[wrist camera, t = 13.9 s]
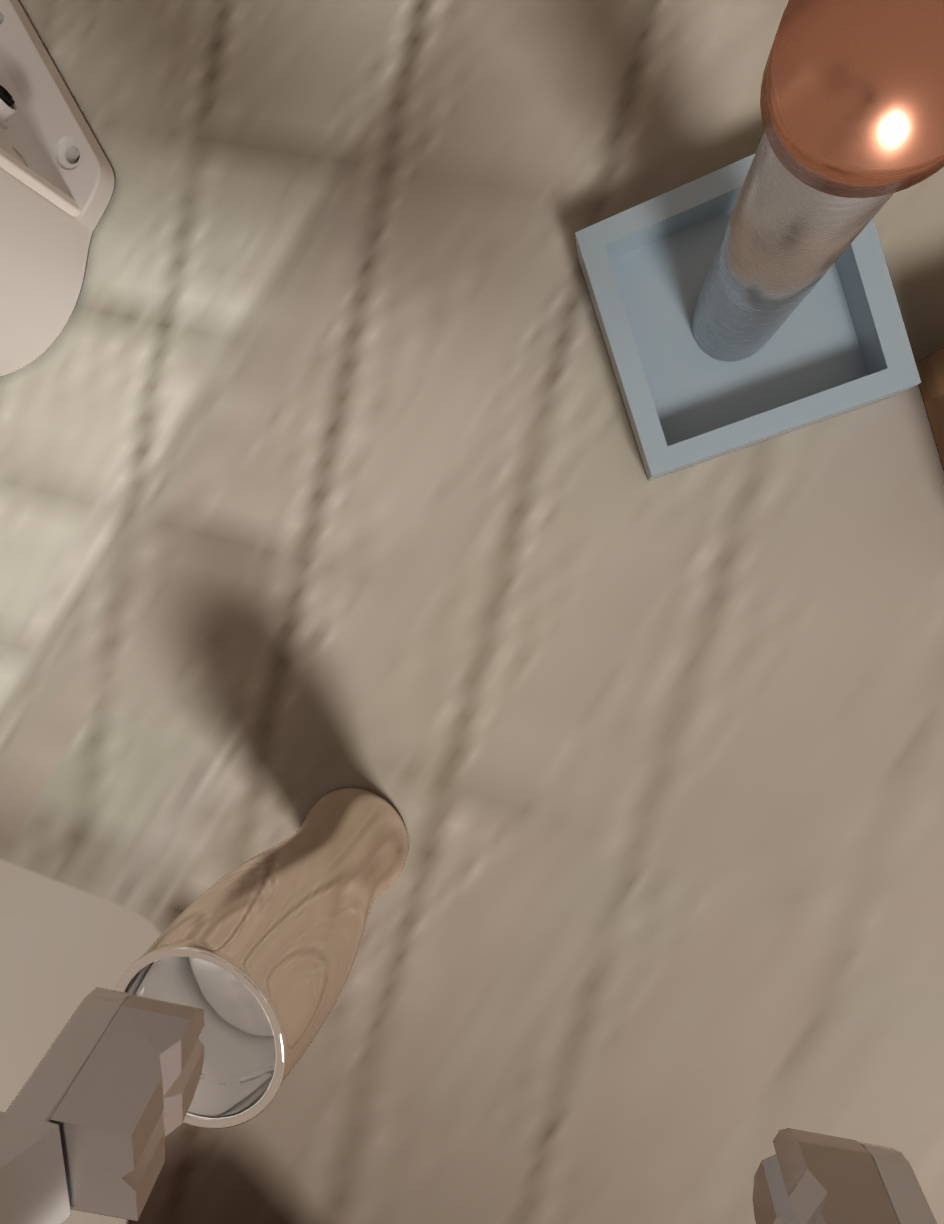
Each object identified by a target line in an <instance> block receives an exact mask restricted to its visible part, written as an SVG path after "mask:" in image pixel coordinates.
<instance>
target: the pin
mask: <svg viewBox="0 0 944 1224" xmlns="http://www.w3.org/2000/svg"><path fill="white" fill-rule="evenodd" d="M760 106H761V118H762V122H763V127H764V133H763V135H762V138H761V141H760V143H759V146H758V148H757V151H756V153H755V156H754V158H753V161H752V163H751V166H750V168H749V171H748V173H747V176H746V178H745V181H744V183H743V186H742V189H741V191H740V194H739V196H738V199H737V201H736V204H735V206H734V209H733V211H732V214H731V216H730V219H729V221H728V224H727V226H726V229H725V231H724V234H723V237H722V239H721V242H720V244H719V247H718V249H717V252H716V254H715V257H714V259H713V262H712V264H711V267H710V269H709V272H708V274H707V277H706V280H705V282H704V285H703V287H702V290H701V292H700V295H699V297H698V300H697V302H696V305H695V307H694V310H693V314H692V319H691V328H692V334H693V337H694V340H695V342H696V343H697V345H698V346H699V348H700V349H701V350H702V351H703V352H704V353H705V354H707V355H708V356H710V357H712V358H714V359H716V360H720V361H726V362H733V361H740V360H743V359H746V358H748V357H751V356H752V355H754V354H756V353H757V352H758V351H759V350H761V349H762V348H763V347H764V346H765V345H766V343H767V342H768V341H769V340H770V339H771V337H772V336H773V335H774V334H775V333H776V332H777V330H778V329H779V328H780V327H781V326H782V324H783V323H784V322H785V321H786V320H787V319H788V317H789V316H790V315H791V314H792V313H793V311H794V310H795V309H796V308H797V307H798V306H799V304H800V303H801V302H802V301H803V300H804V299H805V297H806V296H807V295H808V294H809V293H810V291H811V290H812V289H813V288H814V287H815V286H816V284H817V283H818V282H819V281H820V280H821V278H822V277H823V276H824V275H825V274H826V273H827V271H828V270H829V269H830V268H831V267H832V265H833V264H834V263H835V262H836V261H837V260H838V258H839V257H840V256H841V255H842V254H843V253H844V251H845V250H846V249H847V248H848V247H849V245H850V244H851V243H852V242H853V241H854V240H855V238H856V237H857V236H858V235H859V234H860V232H861V231H862V230H863V229H864V228H865V227H866V225H867V224H868V223H869V222H870V221H871V219H872V218H873V217H874V216H875V215H876V214H877V212H878V211H879V210H880V209H881V208H882V206H883V205H884V204H885V203H886V202H887V201H888V199H889V198H890V197H891V196H892V195H893V194H894V193H895V192H898V191H901V190H904V189H907V188H909V187H911V186H913V185H915V184H917V183H919V182H921V181H923V180H925V179H926V178H928V177H930V176H931V175H933V174H934V173H936V172H937V171H939V170H940V169H941V168H943V167H944V0H789V2H788V4H787V7H786V9H785V11H784V13H783V16H782V19H781V22H780V25H779V28H778V30H777V33H776V36H775V39H774V42H773V45H772V48H771V51H770V54H769V57H768V60H767V63H766V67H765V70H764V73H763V79H762V85H761V97H760Z"/></svg>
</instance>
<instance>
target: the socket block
mask: <svg viewBox="0 0 944 1224" xmlns="http://www.w3.org/2000/svg"><path fill="white" fill-rule="evenodd" d="M916 366H917V370H918V373H919V377H920V380H921V383H920V384H919V387H920V391H921V394H922V397H923V401H924V404H925V408H926V411H927V414H928V418H929V421H930V425H931V428H932V431H933V435H934V438H935V442H936V445H937V448H938V452H939V455H940V459H941V462H942V465H943V469H944V348H943V349H941V350H939V351H937V352H936V353H934V354H932V355H930V356H928V357H926V358H925V359H923V360H921V361H919V362H917V363H916Z"/></svg>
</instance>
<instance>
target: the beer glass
mask: <svg viewBox="0 0 944 1224" xmlns="http://www.w3.org/2000/svg"><path fill="white" fill-rule="evenodd" d="M408 850H409V841H408V835H407V831H406V828H405V825H404V823H403V821H402V819H401V817H400V815H399V814H398V812H397V811H396V810H395V809H394V808H393V806H392V805H391V804H390V803H388V802H387V801H386V800H385V799H383V798H382V797H380V796H379V795H377V794H375V793H373V792H370V791H367V790H364V789H359V788H344V789H339V790H336V791H333V792H331V793H329V794H327V795H325V796H323V797H322V798H321V799H320V800H319V801H318V802H317V803H316V804H315V805H314V806H313V807H312V809H311V810H310V812H309V813H308V815H307V817H306V819H305V820H304V822H303V824H302V826H301V827H300V829H299V830H298V831H296V833H295V834H294V835H292V836H291V837H289V838H288V839H286V840H284V841H282V842H281V843H279V844H277V845H275V846H273V847H271V848H269V849H267V850H266V851H264V852H262V853H260V854H258V855H257V856H255V857H253V858H251V859H249V860H248V861H246V862H244V863H243V864H241V865H240V866H238V867H237V868H235V869H234V870H232V871H231V872H229V873H227V874H226V875H224V876H223V877H222V878H221V879H219V880H218V881H217V882H216V883H215V884H213V885H212V886H211V887H210V888H208V889H207V890H206V891H205V892H204V893H202V894H201V895H200V896H199V897H198V898H197V899H196V900H195V901H194V902H193V903H192V904H191V905H190V906H189V907H187V908H186V909H185V910H184V911H183V912H182V913H181V914H180V915H179V916H178V917H177V918H176V919H175V920H174V921H173V923H172V924H171V925H170V926H169V927H168V928H167V929H166V930H165V931H164V932H163V933H162V934H161V935H160V936H159V938H158V939H157V940H156V941H155V942H154V943H153V944H152V945H151V947H150V948H149V949H148V950H147V951H146V952H145V953H144V954H143V955H142V956H141V957H140V958H139V959H138V960H137V961H136V962H134V963H133V964H132V965H131V966H130V967H129V968H128V969H127V971H126V972H125V973H124V975H123V976H122V977H121V979H120V981H119V983H118V985H117V987H116V989H115V991H120V992H125V993H130V994H134V995H137V996H141V997H146V998H151V999H155V1000H160V1001H165V1002H170V1003H175V1004H180V1005H185V1006H190V1007H195V1008H199V1009H204V1024H205V1025H204V1027H203V1029H202V1031H201V1033H200V1035H199V1038H198V1039H199V1040H200V1041H201V1042H202V1044H203V1045H204V1062H203V1067H202V1073H201V1076H200V1079H199V1082H198V1085H197V1088H196V1091H195V1095H194V1098H193V1100H192V1102H191V1105H190V1107H189V1109H188V1112H187V1114H186V1116H185V1118H184V1121H183V1122H184V1123H186V1124H189V1125H193V1126H197V1127H203V1128H227V1127H232V1126H236V1125H239V1124H242V1123H245V1122H247V1121H249V1120H251V1119H253V1118H254V1117H256V1116H257V1115H258V1114H260V1113H261V1112H262V1111H263V1110H264V1109H265V1108H266V1107H267V1106H268V1105H269V1104H270V1103H271V1101H272V1100H273V1099H274V1097H275V1095H276V1094H277V1092H278V1090H279V1088H280V1086H281V1085H282V1083H283V1082H284V1081H285V1079H286V1078H287V1076H288V1075H289V1074H290V1072H291V1071H292V1070H293V1068H294V1067H295V1065H296V1064H297V1063H298V1061H299V1060H300V1058H301V1057H302V1056H303V1054H304V1053H305V1051H306V1050H307V1048H308V1047H309V1046H310V1044H311V1043H312V1041H313V1040H314V1038H315V1037H316V1035H317V1034H318V1032H319V1030H320V1029H321V1027H322V1026H323V1024H324V1022H325V1021H326V1019H327V1018H328V1016H329V1014H330V1013H331V1011H332V1009H333V1007H334V1005H335V1003H336V1001H337V999H338V998H339V996H340V994H341V992H342V990H343V988H344V986H345V984H346V982H347V979H348V976H349V974H350V971H351V969H352V966H353V964H354V961H355V958H356V956H357V953H358V949H359V946H360V943H361V940H362V937H363V933H364V930H365V927H366V923H367V920H368V916H369V913H370V910H371V907H372V905H373V903H374V901H375V900H376V898H377V897H378V896H379V895H381V894H382V893H383V892H384V891H385V890H386V889H387V888H389V887H390V886H391V885H392V884H393V883H394V882H395V881H396V879H397V878H398V877H399V875H400V874H401V872H402V871H403V869H404V866H405V864H406V861H407V857H408Z"/></svg>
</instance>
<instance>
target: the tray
mask: <svg viewBox="0 0 944 1224" xmlns="http://www.w3.org/2000/svg"><path fill="white" fill-rule="evenodd" d="M754 156H755V154H752V155H750V156H748V157H746V158H743V159H741V160H739V161H736V162H734V163H732V164H730V165H727V166H725V167H723V168H721V169H718V170H716V171H714V172H711V173H709V174H707V175H705V176H702V177H700V178H698V179H696V180H693V181H691V182H689V183H686V184H684V185H682V186H680V187H677V188H675V189H673V190H671V191H668V192H666V193H664V194H661V195H659V196H657V197H655V198H652V199H650V200H648V201H646V202H643V203H641V204H639V205H636V206H634V207H632V208H630V209H627V210H625V211H623V212H621V213H618V214H616V215H614V216H611V217H609V218H607V219H605V220H602V221H600V222H598V223H595V224H593V225H591V226H589V227H586V228H584V229H582V230H580V231H577V232H575V238H576V248H577V257H578V260H579V263H580V266H581V269H582V272H583V276H584V279H585V282H586V285H587V288H588V291H589V295H590V298H591V301H592V304H593V307H594V310H595V314H596V317H597V320H598V323H599V326H600V329H601V333H602V336H603V339H604V342H605V345H606V348H607V352H608V355H609V358H610V361H611V364H612V367H613V371H614V374H615V377H616V380H617V383H618V386H619V390H620V393H621V396H622V399H623V402H624V405H625V409H626V412H627V415H628V418H629V421H630V424H631V428H632V431H633V434H634V437H635V440H636V443H637V447H638V450H639V453H640V456H641V459H642V462H643V466H644V469H645V472H646V475H647V478H648V481H649V480H652V479H655V478H658V477H660V476H663V475H666V474H669V473H672V472H675V471H678V470H681V469H684V468H686V467H689V466H692V465H695V464H698V463H701V462H704V461H707V460H710V459H713V458H715V457H718V456H721V455H724V454H727V453H730V452H733V451H736V450H739V449H741V448H744V447H747V446H750V445H753V444H756V443H759V442H762V441H765V440H768V439H770V438H773V437H776V436H779V435H782V434H785V433H788V432H791V431H794V430H796V429H799V428H802V427H805V426H808V425H811V424H814V423H817V422H820V421H823V420H825V419H828V418H831V417H834V416H837V415H840V414H843V413H846V412H849V411H851V410H854V409H857V408H860V407H863V406H866V405H869V404H872V403H875V402H878V401H880V400H883V399H886V398H889V397H892V396H895V395H897V394H899V393H901V392H903V391H905V390H907V389H910V388H912V387H914V386H916V385H918V384H920V383H921V380H920V377H919V373H918V370H917V366H916V363H915V360H914V356H913V353H912V349H911V346H910V343H909V339H908V336H907V332H906V329H905V325H904V322H903V319H902V315H901V312H900V308H899V305H898V302H897V298H896V295H895V291H894V288H893V285H892V281H891V278H890V274H889V271H888V267H887V264H886V261H885V257H884V254H883V250H882V247H881V244H880V240H879V237H878V233H877V230H876V227H875V223H874V220H873V218H872V219H871V221H870V222H869V223H868V224H867V225H866V227H865V228H864V229H863V230H862V231H861V232H860V234H859V235H858V236H857V237H856V238H855V240H854V241H853V242H852V243H851V244H850V245H849V247H848V248H847V249H846V250H845V251H844V253H843V254H842V255H841V256H840V257H839V258H838V260H837V261H836V262H835V263H834V264H833V265H832V267H831V268H830V269H829V270H828V271H827V273H826V274H825V275H824V276H823V277H822V278H821V280H820V281H819V282H818V283H817V284H816V286H815V287H814V288H813V289H812V290H811V291H810V293H809V294H808V295H807V296H806V297H805V299H804V300H803V301H802V302H801V303H800V304H799V306H798V307H797V308H796V309H795V310H794V311H793V313H792V314H791V315H790V316H789V317H788V319H787V320H786V321H785V322H784V323H783V324H782V326H781V327H780V328H779V329H778V330H777V332H776V333H775V334H774V335H773V336H772V337H771V339H770V340H769V341H768V342H767V343H766V345H765V346H764V347H763V348H762V349H761V350H759V351H758V352H757V353H756V354H754V355H752V356H751V357H748V358H746V359H743V360H740V361H733V362H726V361H720V360H716V359H714V358H712V357H710V356H708V355H707V354H705V353H704V352H703V351H702V350H701V349H700V348H699V346H698V345H697V343H696V342H695V340H694V337H693V334H692V328H691V319H692V314H693V310H694V307H695V305H696V302H697V300H698V297H699V295H700V292H701V290H702V287H703V285H704V282H705V280H706V277H707V274H708V272H709V269H710V267H711V264H712V262H713V259H714V257H715V254H716V252H717V249H718V247H719V244H720V242H721V239H722V237H723V234H724V231H725V229H726V226H727V224H728V221H729V219H730V216H731V214H732V211H733V209H734V206H735V204H736V201H737V199H738V196H739V194H740V191H741V189H742V186H743V183H744V181H745V178H746V176H747V173H748V171H749V168H750V166H751V163H752V161H753V158H754Z"/></svg>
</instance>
